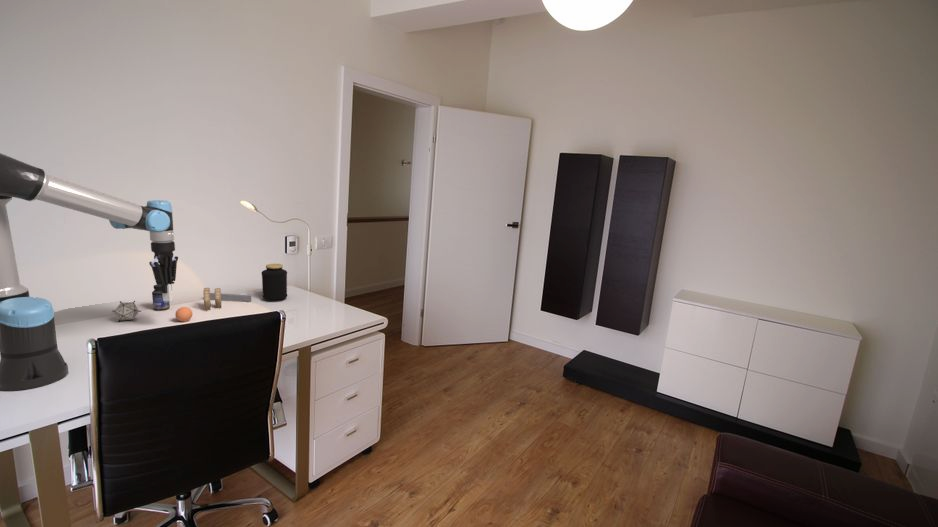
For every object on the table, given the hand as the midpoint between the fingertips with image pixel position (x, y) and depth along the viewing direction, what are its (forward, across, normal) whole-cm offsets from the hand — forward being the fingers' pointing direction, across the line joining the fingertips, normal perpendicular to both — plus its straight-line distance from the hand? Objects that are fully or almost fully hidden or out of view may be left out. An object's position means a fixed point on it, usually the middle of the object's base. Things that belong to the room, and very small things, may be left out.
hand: (167, 300), depth 171 cm
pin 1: (+12, +29, +3) cm, 32 cm away
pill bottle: (+12, +23, +20) cm, 33 cm away
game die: (+12, +6, +22) cm, 25 cm away
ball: (+9, +9, 0) cm, 13 cm away
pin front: (+12, +25, 0) cm, 28 cm away
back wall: (+12, +42, 0) cm, 44 cm away
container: (+12, +48, -20) cm, 54 cm away
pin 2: (+12, +29, -2) cm, 32 cm away
